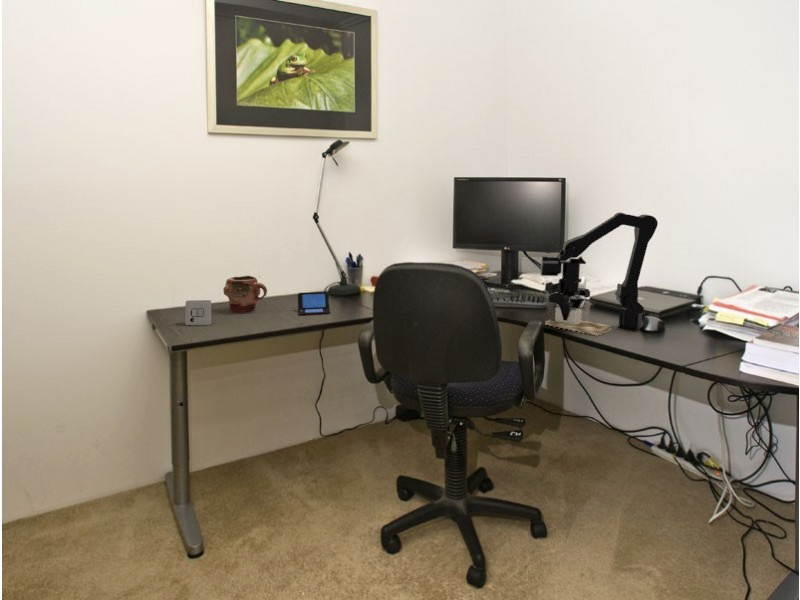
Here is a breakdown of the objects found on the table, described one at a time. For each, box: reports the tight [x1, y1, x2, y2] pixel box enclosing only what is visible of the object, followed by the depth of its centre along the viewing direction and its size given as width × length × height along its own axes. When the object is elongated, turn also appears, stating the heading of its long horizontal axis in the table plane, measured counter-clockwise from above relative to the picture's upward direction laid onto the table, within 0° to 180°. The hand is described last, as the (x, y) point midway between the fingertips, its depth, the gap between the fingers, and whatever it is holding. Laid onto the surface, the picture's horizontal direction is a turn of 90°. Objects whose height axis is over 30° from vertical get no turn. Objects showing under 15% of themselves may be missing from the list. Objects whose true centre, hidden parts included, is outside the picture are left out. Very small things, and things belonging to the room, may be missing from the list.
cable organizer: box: [556, 275, 587, 309], centre depth 233 cm, size 15×11×12 cm
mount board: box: [544, 316, 613, 337], centre depth 198 cm, size 20×10×2 cm, turn 43°
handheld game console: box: [297, 291, 331, 317], centre depth 226 cm, size 12×11×7 cm
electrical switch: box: [184, 299, 213, 326], centre depth 209 cm, size 9×5×9 cm, turn 90°
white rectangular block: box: [554, 306, 583, 325], centre depth 200 cm, size 8×4×5 cm, turn 43°
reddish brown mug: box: [222, 275, 268, 314], centre depth 228 cm, size 20×12×14 cm, turn 77°
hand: (568, 319), depth 201 cm, fingers closed on white rectangular block, 4 cm apart
